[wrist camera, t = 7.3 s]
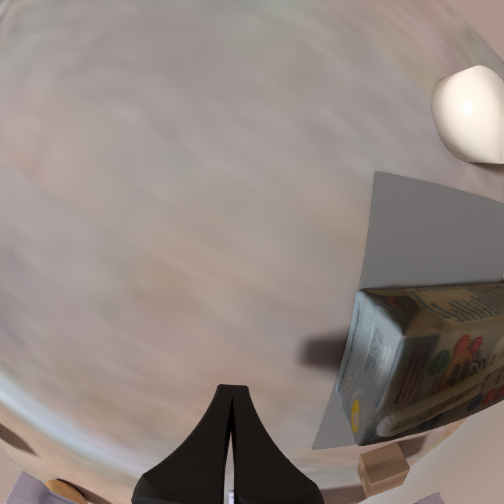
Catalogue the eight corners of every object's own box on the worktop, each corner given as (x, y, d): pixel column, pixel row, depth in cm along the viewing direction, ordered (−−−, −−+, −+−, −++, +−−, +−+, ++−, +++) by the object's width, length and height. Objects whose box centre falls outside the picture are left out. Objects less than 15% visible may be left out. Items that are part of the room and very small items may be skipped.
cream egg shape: (487, 171, 14) (521, 174, 10) (430, 150, 14) (467, 148, 10) (485, 95, 12) (516, 88, 9) (427, 65, 12) (458, 49, 9)
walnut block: (391, 458, 21) (402, 484, 17) (357, 470, 21) (366, 497, 18) (396, 441, 20) (410, 468, 16) (359, 454, 20) (370, 484, 17)
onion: (91, 492, 24) (79, 524, 17) (92, 503, 26) (83, 531, 19) (46, 468, 23) (31, 497, 16) (52, 483, 25) (40, 509, 18)
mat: (436, 422, 20) (437, 424, 20) (311, 448, 19) (312, 449, 19) (513, 207, 14) (514, 207, 14) (374, 171, 14) (376, 171, 14)
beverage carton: (352, 279, 15) (411, 339, 9) (524, 276, 16) (572, 302, 9) (329, 387, 17) (356, 461, 11) (499, 352, 18) (536, 386, 11)
